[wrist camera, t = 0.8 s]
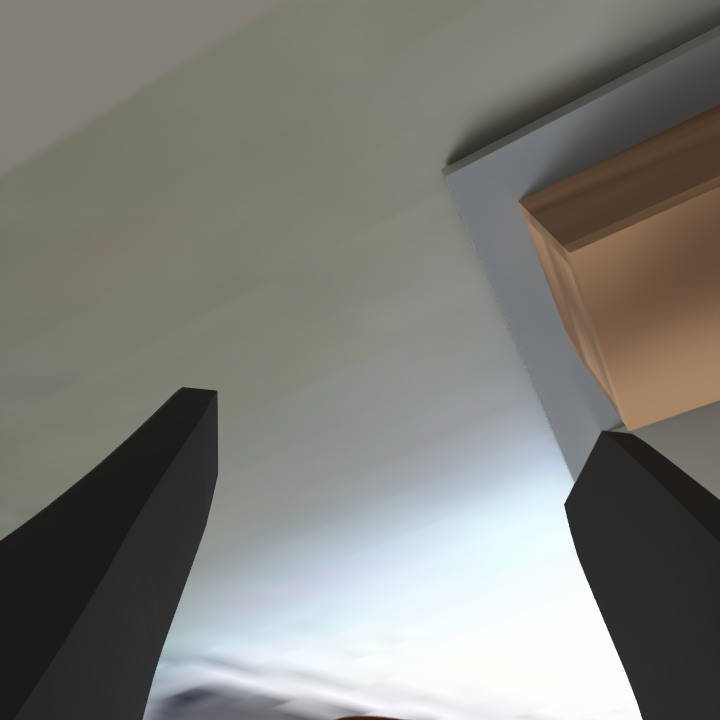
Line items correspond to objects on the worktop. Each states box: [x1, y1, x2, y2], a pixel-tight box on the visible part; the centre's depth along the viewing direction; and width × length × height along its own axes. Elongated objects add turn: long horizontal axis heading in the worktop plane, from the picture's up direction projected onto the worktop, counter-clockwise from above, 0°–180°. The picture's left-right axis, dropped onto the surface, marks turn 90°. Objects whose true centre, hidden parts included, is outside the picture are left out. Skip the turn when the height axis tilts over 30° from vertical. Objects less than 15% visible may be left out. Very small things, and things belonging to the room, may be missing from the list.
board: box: [441, 25, 720, 484], centre depth 19 cm, size 18×12×1 cm, turn 28°
